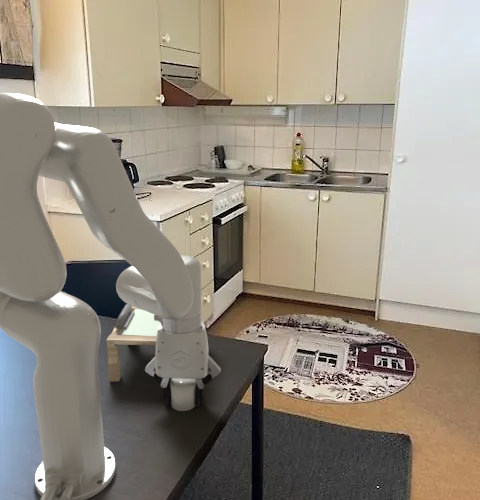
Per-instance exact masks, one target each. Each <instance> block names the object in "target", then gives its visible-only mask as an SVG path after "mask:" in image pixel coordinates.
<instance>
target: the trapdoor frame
mask: <svg viewBox="0 0 480 500" xmlns="http://www.w3.org/2000/svg"><path fill="white" fill-rule="evenodd" d="M131 306H132V305H131ZM135 309H139V308H136V307H134V306H132V308H131V310H130V311H134V310H135ZM123 331H124V329H115V327H114V328H113V330H112V332H111V333H110V334H109V335H108V336H107V338H106V352H107V361H108V362H107V364H108V366H107V367H108V375H109V376H108V377H109V382H120V380H121V378H122V368H121V352H120V345H127V346H156V337H157V336H134V335H121V334H122V333H123Z"/></svg>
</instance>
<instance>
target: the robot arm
mask: <svg viewBox="0 0 480 500" xmlns="http://www.w3.org/2000/svg"><path fill="white" fill-rule="evenodd" d="M39 177H41V178H42V177H43V178H45V179H49V180H54V181H58V182H64V183H65V184H66V185H67V187H68V189H69V191H70V193H71V195H72V196H73V199H74V200H75V202H76V204H77V206H78V208H79V210H80V212H81V215H82V216H83V217H84V220H85V221H86V223H87V226H88V227H89V230H90V231H91V234H92V235H93V236H94V237H95V238H96V240H98V242H100V243H101V244H102V245H103V246H104V247H106V248H107V249H109V250H110V251H111V252H112V253H114V254H116V255H117V256H119V257H120V258H122V259H123V260H125V261H126V262H127V263H128V264H129V265H130V266H128V267H127V268H125V269H123V271H122V272H121V273H120V274H119V275H118V278H117V280H116V283H115V288H116V293H117V294H118V295H117V296H118V297H119V299H121V300H122V301H123V302H124V303H125V304H129V305H132V306H134V307H136V308H139V309H141V310H144V311H147V312H149V313H152V314H154V321H160V323H161V324H160V326H159V327H158V331H157V337H156V345H155V356H154V357H152V359H151V360H150V361H149V362H148V363H147V365H146V366H145V369H144V371H145V373H147V374H148V375H149V376H152V377H153V379H154V380H155V381H157V383H159V384H160V387H161V388H162V395H163V396H162V399H163V400H165V403H166V406H171V395H170V381H171V379H172V378H181V379H195V380H196V389H195V398H196V407H200V403H201V401H203V400H204V399H205V398H204V397H205V396H204V395H205V393H204V392H205V391H204V390H205V389H204V388H205V386H206V385H207V384H208V383H210V382H211V381H212V380H213V379H214V378H216V377H217V376H219V374H220V373H221V371H222V368H221V366H220V365H218V363H217V362H216V361H215V360H214V359H213V358H212V357H211V356H210V355H209V354H210V352H209V350H210V349H209V343H208V341H209V340H208V335H207V330H206V325H205V323H204V322H202V321H203V320H202V319H203V318H202V266H201V263H200V261H199V260H198V259H197V258H195V256H191V255H185V254H183V255H182V254H180V252H179V250H178V249H177V248H176V247H175V246H174V244H173V243H172V242H171V241H170V240H169V238H168V237H167V236H166V235H165V234H164V233H163V231H162V230H161V229H160V228H159V227H158V226H157V225H156V224H155V223H154V221H153V220H152V219H150V218H149V216H147V214H146V213H145V211H144V210H143V208H142V206H141V204H140V202H139V199H138V197H137V194H136V192H135V190H134V187H133V185H132V182H131V180H130V178H129V176H128V174H127V171H126V169H125V167H124V164H123V162H122V160H121V157H120V154H119V153H118V150H117V148H116V145H115V143H114V142H113V141H112V139H111V138H110V136H108V134H106V133H105V132H103V131H102V130H100V129H98V128H95V127H91V126H90V127H89V126H83V125H73V124H62V123H58V122H56V121H55V118H54V115H53V114H52V112H51V110H50V108H48V106H47V105H46V104H45V103H44V102H42V101H41V100H39V99H38V98H35V97H33V96H30V95H26V94H23V93H13V92H0V329H1V331H2V332H3V333H4V334H5V335H7V336H8V337H9V338H12V340H15V342H16V341H17V342H18V343H19V344H21V345H22V346H24V347H25V348H27V349H28V350H30V351H32V352H33V354H34V355H35V357H36V364H35V365H36V366H35V370H34V374H33V376H32V377H33V378H32V390H33V391H32V392H33V398H34V403H35V404H34V405H35V412H36V419H37V421H36V422H37V428H38V434H39V442H40V443H39V444H40V449H41V457H42V459H41V460H42V461H41V463H40V464H39V465H38V467H37V469H36V471H35V474H34V487H35V489H36V491H37V494H39V496H40V499H39V500H88V499H90V498H92V497H94V496H96V495H98V494H99V493H100V492H102V491H103V490H105V489H106V487H107V486H108V485H109V484H110V483H111V481H112V479H113V478H114V476H115V475H116V467H117V463H116V458H115V455H114V453H112V451H111V450H110V449H109V448H107V447H105V439H104V438H105V437H104V429H103V428H104V427H103V416H102V415H103V414H102V405H101V404H102V403H101V392H100V382H99V366H98V365H99V364H98V363H99V360H98V359H99V349H100V341H101V335H102V328H101V321H100V319H99V316H98V314H97V312H96V311H95V310H94V309H93V308H92V307H91V306H90V305H89V304H88V303H86V302H85V301H83V299H82V300H81V299H80V298H78V297H76V296H74V295H71V294H68V293H66V292H65V291H62V289H64V285H65V284H66V279H67V265H66V261H65V258H64V256H63V253H62V251H61V249H60V246H59V244H58V243H57V241H56V240H57V239H56V237H55V236H54V234H53V231H52V229H51V227H50V225H49V222H48V220H47V218H46V216H45V213H44V211H43V208H42V205H41V202H40V199H39V195H38V180H39ZM209 369H210V370H209Z"/></svg>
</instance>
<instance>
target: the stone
mask: <svg viewBox="0 0 480 500" xmlns="http://www.w3.org/2000/svg"><path fill="white" fill-rule="evenodd" d="M170 380H171V381H170V395H171V403H170V407H171V408H172V409H174V411H175V410H176V411H177V412H187V411H190V410H192V409H194V408H195V407H197V405H196V398H195V389H196V384H197V383H196V380H195V379H181V378H170Z"/></svg>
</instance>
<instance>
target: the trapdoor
mask: <svg viewBox="0 0 480 500" xmlns="http://www.w3.org/2000/svg"><path fill="white" fill-rule="evenodd" d="M131 308H132V306H131V305H129V304H127V303H125V305H124V307H123V308H122V310H121V311H120V313H119V315H118V317H117V319H116V320H115V321H114V328H115V329H123V330H122V332H121V334H120V335H134V336H157V331H158V327H159V326H160V324H161V323H160V321H154V314H152V313H149V312H147V311H144V310H141V309H135V310H134V311H130V310H131Z"/></svg>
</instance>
